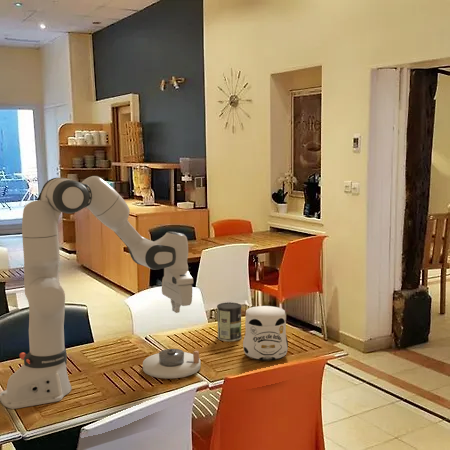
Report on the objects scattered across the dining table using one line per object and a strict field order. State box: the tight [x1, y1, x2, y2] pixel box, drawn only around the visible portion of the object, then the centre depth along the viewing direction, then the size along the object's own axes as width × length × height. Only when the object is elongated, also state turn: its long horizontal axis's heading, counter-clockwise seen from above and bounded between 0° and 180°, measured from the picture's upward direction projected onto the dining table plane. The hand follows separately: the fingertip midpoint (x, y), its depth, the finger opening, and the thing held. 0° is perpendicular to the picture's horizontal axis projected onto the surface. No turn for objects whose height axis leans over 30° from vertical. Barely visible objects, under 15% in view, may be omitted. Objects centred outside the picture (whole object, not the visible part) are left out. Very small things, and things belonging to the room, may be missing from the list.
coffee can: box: [216, 301, 242, 342], centre depth 244 cm, size 10×10×14 cm
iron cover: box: [158, 348, 185, 367], centre depth 210 cm, size 9×9×5 cm
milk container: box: [242, 305, 289, 362], centre depth 222 cm, size 17×17×18 cm
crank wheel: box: [142, 350, 202, 379], centre depth 210 cm, size 21×21×6 cm
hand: (175, 311), depth 214 cm, fingers closed
